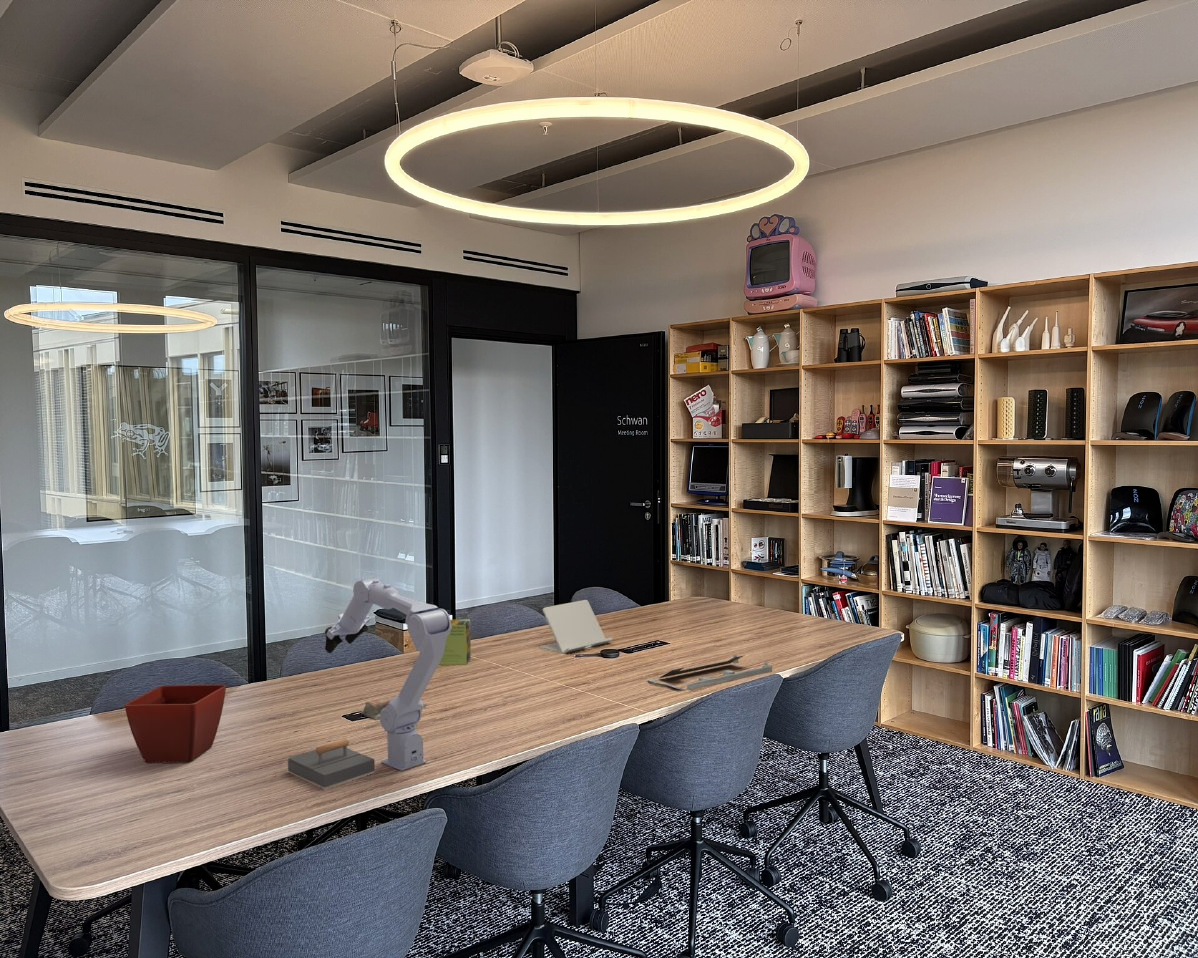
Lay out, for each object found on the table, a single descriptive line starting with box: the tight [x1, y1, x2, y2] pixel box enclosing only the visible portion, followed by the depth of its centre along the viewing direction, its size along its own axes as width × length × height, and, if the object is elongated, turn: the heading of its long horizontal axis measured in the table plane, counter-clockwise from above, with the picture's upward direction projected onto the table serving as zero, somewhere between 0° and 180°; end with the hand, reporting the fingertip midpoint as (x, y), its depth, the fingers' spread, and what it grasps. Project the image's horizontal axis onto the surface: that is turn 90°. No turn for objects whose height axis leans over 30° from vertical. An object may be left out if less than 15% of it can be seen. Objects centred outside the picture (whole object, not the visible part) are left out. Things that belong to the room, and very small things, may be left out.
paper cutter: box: [646, 654, 773, 691], centre depth 309 cm, size 18×45×6 cm, turn 124°
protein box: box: [438, 618, 472, 666], centre depth 336 cm, size 10×15×16 cm
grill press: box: [287, 738, 361, 771], centre depth 225 cm, size 12×14×5 cm
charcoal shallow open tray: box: [287, 753, 376, 791], centre depth 224 cm, size 18×14×4 cm
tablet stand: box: [539, 599, 613, 655], centre depth 359 cm, size 18×25×17 cm
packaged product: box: [360, 694, 427, 721], centre depth 275 cm, size 18×5×10 cm
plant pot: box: [124, 684, 227, 764], centre depth 238 cm, size 19×19×17 cm
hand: (338, 645), depth 246 cm, fingers open, 7 cm apart
